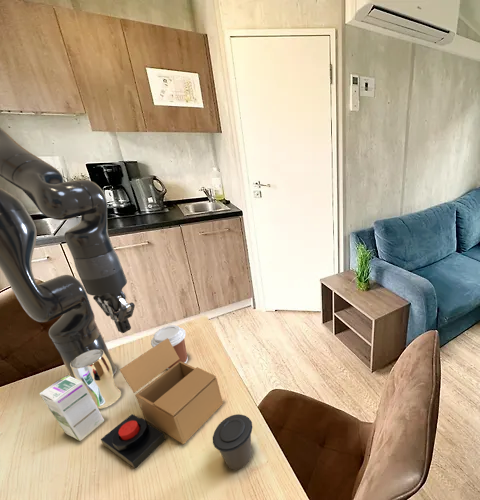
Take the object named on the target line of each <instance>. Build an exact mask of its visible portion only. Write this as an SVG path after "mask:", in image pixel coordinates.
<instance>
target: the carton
mask: <svg viewBox="0 0 480 500" xmlns="http://www.w3.org/2000/svg"><path fill="white" fill-rule="evenodd" d="M134 396H135V398H136V400H137V403H138V405H139V407H140V410H141V412H142V414H143V417H144V420H145V421H146V422H147V423H148V424H149V425H151V426H152V427H154V428H156V429H157V430H159V431H160V432H162V433H163V434H164V433H165V434H166V435H167V436H169V437H171V438H172V439H174V440H175V441H177V442H179V443H180V444H182V445H184V444H185V443H187V442H188V441H189V439H191V437H192V436H193V435H194V434H195V433H196V432H197V431H198V430H199V429H200V428H201V427H202V426H203V425H204V424H206V422H207V421H208V420H209V419H210V418H211V417H212V416H213V415H214V414H215V412H217V410H218V409H219V408H220V407H221V406H222V405H224V400H223V397H222V393H221V390H220V386H219V381H218V378H217V376H216V374H213V373H211V372H209V371H207V370H204V369H202V368H201V367H198V366H197V367H194V366H192V365H190V364H188V363H187V362H186V363H184V362H181V361H179V362H178V363H177V364H175V365H174V366H173V367H171V368H170V369H169V370H168V369H166V370H165V371H164V372H162V373H161V374H160V375H158V377H156V378H154V379H153V380H152V381H150V382H149V384H147V385H145V386H144V387H143V388H141V390H139V391H137V393H135V394H134Z"/></svg>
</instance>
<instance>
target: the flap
mask: <svg viewBox="0 0 480 500" xmlns="http://www.w3.org/2000/svg"><path fill="white" fill-rule="evenodd" d="M177 360H179V357H178V355H177V353H176V352H175V350H174V348H173V346H172V344H171V343H170V341H169V339H168V338H167V339H165V340H164V341H162V342H161V343H159V344H158V345H156V346H155V347H152V348H150V349H149V350H147V351H146V352H144V353H142V354H141V355H140V356H138V357H136V358H135V359H134V360H132V361H130V362H128V363H127V364H126V365H124V366H123V367H121V368H120V369H119V372H120V373H121V375H122V377H123V378H124V380H125V381H126V383H127V385H128V386H129V387H130V389H131V391H132V392H133V393H135V394H136V392H139V391H140V389H143V388H144V387H145V386H147V385H148V383H151V382H152V381H153V380H155V379H156V378H157V376H160V375H161V374H162V373H164V372H165V371H166V370H168V369H167V368H168V367H169V366H171V365H172V364H173V363H175V362H176V361H177Z"/></svg>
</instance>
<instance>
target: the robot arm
mask: <svg viewBox="0 0 480 500" xmlns="http://www.w3.org/2000/svg"><path fill="white" fill-rule="evenodd" d="M0 177H1V178H2V179H4V180H5V181H6V182H8V183H10V184H11V185H13V186H15V187H16V188H18V189H19V190H21V191H22V192H23V193H24V194H25V195H26V196H27V197H28V198H29V199H30V201H31V202H32V203H33V204H34V205H35V207H36V208H37V210H38V211H39V212H40V213H41V214H42V215H44V217H47V218H50V219H52V220H56V221H67V220H71V219H74V218H78V217H80V221H79V222H78V224H76V225H74V226H73V227H71V228H69V229H67V230H66V231H65V232H64V236H63V237H64V241H65V243H66V245H67V247H68V249H69V252H70V255H71V257H72V259H73V264H74V267H75V270H76V272H77V274H78V277H79V279H80V280H79V279H78V278H76V277H75V276H73V275H70V274H62V275H58V276H56V277H54V278H51V279H49V280H46V281H44V282H40V283H37V281H36V279H35V277H34V273H33V268H32V261H33V255H34V250H35V247H36V242H37V237H38V236H37V235H38V229H37V228H38V227H37V225H36V223H35V221H34V219H33V218H32V216H31V215H30V213H29V212H28V210H27V208H26V206H25V205H24V203H23V202H22V201H21V200H20V199H18V198H17V197H16V196H15V195H14V194H11V193H10V192H9V191H7V190H5V189H3V187H2V188H1V187H0V271H1V272H2V274H3V276H4V277H5V279H6V281H7V283H8V284H9V287H10V288H11V290H12V292H13V294H14V295H15V297H16V300H17V301H18V302H19V305H20V306H21V307H22V309H23V310H24V311H25V313H26V314H27V315H28V316H29V317H30V318H31V319H32V320H33V321H36V322H37V323H40V324H41V323H43V324H44V323H48V322H50V321H52V320H55V319H57V318H58V319H57V320H56V321H55V322H54V323H53V324H52V325H51V326H50V327H49V329H48V337H49V338H50V340H51V342H52V344H53V345H54V347H55V349H56V351H57V353H58V355H59V356H60V358H61V360H62V362H63V364H64V365H65V368H66V369H67V371H68V373H69V376H71V377H73V378H75V376H74V374H73V371H72V368H71V366H70V363H71V361H72V360H73V359H74V358H75V357H77V356H78V355H80V354H82V353H84V352H86V351H89V350H93V349H101V350H103V351H104V353H105V355H106V357H107V358H108V360H109V362H110V364H111V367H112V371H113V377H114V376H115V375H116V373H117V370H118V368H117V365H115V362H114V360H113V358H112V355H111V353H110V351H109V349H108V347H107V344H106V342H105V340H104V337H103V335H102V334H101V331H100V329H99V326H98V325H97V321H96V316H95V313H94V309H93V308H92V305H91V303H90V299H89V296H88V295H90V296H92V297H93V298H92V299H93V300H94V301H95V302H96V304H97V305H98V307H100V309H101V310H102V311H103V312H104V314H105V316H107V317H110V319H111V320H112V321H113V322H114V324H115V327H116V329H117V331H118V332H119V333H121V334H125V333H127V332H128V331H130V330H131V329H132V326H131V323H130V321H129V318H131V317H133V314H134V311H135V308H136V305H135V303H134V302H127V296H126V293H125V292H124V291H123V289H124V287H125V286H126V285H127V284H128V280H127V277H126V274H125V271H124V269H123V266H122V264H121V260H120V258H119V256H118V253H117V252H116V250H115V248H114V245H113V243H112V241H111V237H110V235H109V231H108V201H107V197H106V194H105V192H104V191H103V189H102V188H101V187H100V186H99V185H98V184H97V183H96V182H95V181H92V180H90V179H75V180H70V181H64V176H63V174H62V173H61V172H60V170H58V169H57V168H56V167H54V166H52V165H51V164H50V163H48V162H46V161H44V159H42V158H40V157H39V156H37V155H35V154H33V153H32V152H30V150H29V151H28V150H27V149H26V148H25V147H23V146H22V145H20V143H18V142H17V141H16V140H15V139H14V138H12V137H11V136H10V135H9V134H8V133H7V132H6V131H5V130H4V129H2V127H0ZM80 281H81V282H80ZM75 379H76V378H75Z"/></svg>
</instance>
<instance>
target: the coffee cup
mask: <svg viewBox="0 0 480 500" xmlns="http://www.w3.org/2000/svg"><path fill="white" fill-rule="evenodd" d="M252 431H253V422H252V420H251V419H250V417H248V416H247V415H245V414H240V413H238V414H237V413H236V414H233V415H230V416H227V417H226V418H225V419H222V421H221V422H220V423H219V424H218V425H217V426H216V427H215V429H214V432H213V435H212V445H213V446H214V448H215V449H216V450H217V451H219V452H220V454H221V456H222V459H223V460H224V462H225V464H226V466H227V467H228V468H229V469H230V470H233V471H237V470H240V469H243V468H244V467H245V466H247V464H248V463H249V462H250V459H251V458H252V435H251V434H252Z"/></svg>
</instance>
